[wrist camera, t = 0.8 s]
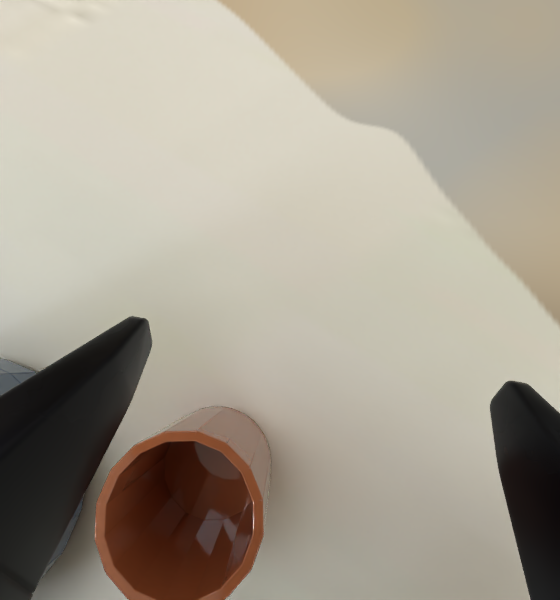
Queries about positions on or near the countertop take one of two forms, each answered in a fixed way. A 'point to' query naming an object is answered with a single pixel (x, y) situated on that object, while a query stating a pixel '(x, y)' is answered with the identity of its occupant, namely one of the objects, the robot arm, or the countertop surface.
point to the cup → (186, 508)
